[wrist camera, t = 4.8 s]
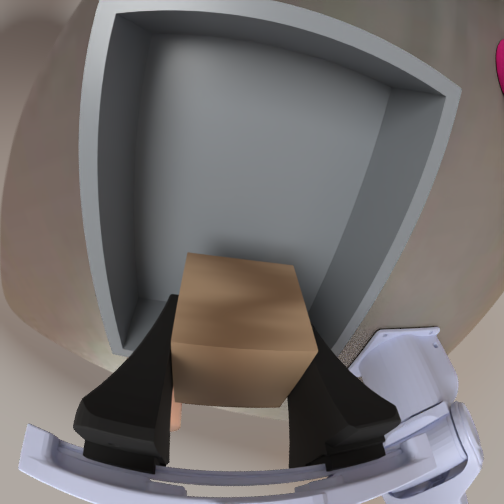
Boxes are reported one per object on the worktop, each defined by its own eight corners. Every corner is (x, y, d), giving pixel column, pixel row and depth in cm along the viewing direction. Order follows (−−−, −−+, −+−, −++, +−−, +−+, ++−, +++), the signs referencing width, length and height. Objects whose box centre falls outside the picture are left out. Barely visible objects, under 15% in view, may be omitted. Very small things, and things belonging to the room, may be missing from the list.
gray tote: (400, 79, 11) (461, 89, 7) (311, 316, 20) (326, 370, 16) (142, 22, 9) (100, -3, 4) (130, 297, 18) (112, 353, 14)
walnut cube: (293, 265, 13) (318, 351, 9) (268, 331, 16) (279, 407, 12) (187, 252, 12) (170, 341, 8) (183, 323, 15) (174, 402, 11)
